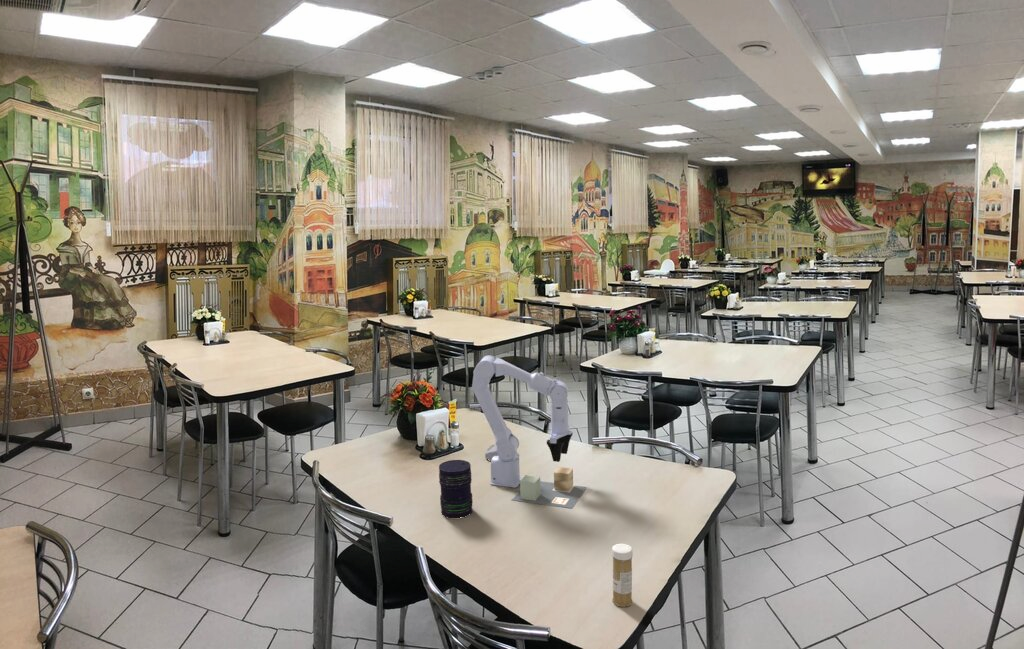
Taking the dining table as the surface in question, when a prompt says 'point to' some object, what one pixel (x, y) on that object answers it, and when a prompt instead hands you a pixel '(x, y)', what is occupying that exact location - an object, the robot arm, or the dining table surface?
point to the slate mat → (555, 496)
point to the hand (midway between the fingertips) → (560, 457)
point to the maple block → (563, 479)
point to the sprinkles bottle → (622, 575)
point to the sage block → (530, 487)
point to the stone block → (491, 452)
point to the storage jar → (455, 488)
